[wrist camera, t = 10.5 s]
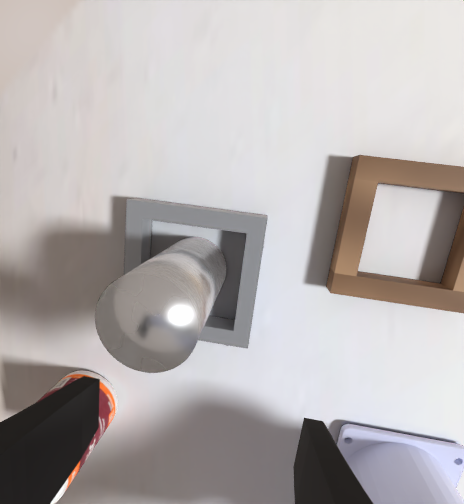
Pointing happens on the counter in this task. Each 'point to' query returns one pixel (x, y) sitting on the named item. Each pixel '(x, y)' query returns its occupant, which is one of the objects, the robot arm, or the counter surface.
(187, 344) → the grey thick round cylinder
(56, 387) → the pill bottle
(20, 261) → the counter surface
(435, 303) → the socket frame
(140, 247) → the frame
